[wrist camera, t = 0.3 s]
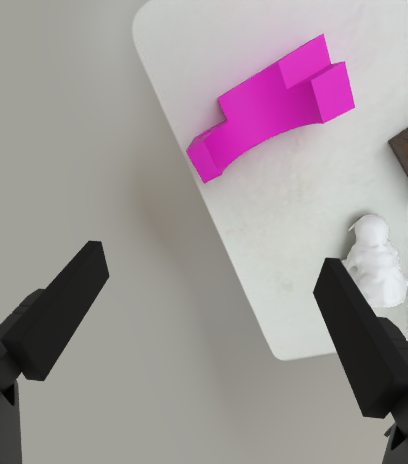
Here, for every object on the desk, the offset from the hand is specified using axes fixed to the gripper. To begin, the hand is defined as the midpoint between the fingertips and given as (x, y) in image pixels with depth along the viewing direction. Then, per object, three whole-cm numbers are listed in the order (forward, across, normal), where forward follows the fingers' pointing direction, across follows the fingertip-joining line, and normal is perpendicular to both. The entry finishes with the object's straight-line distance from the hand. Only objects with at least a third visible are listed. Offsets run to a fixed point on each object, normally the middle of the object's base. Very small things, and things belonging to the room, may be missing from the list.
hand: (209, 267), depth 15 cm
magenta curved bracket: (+21, +3, +7) cm, 22 cm away
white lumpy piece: (+21, +22, -10) cm, 32 cm away
